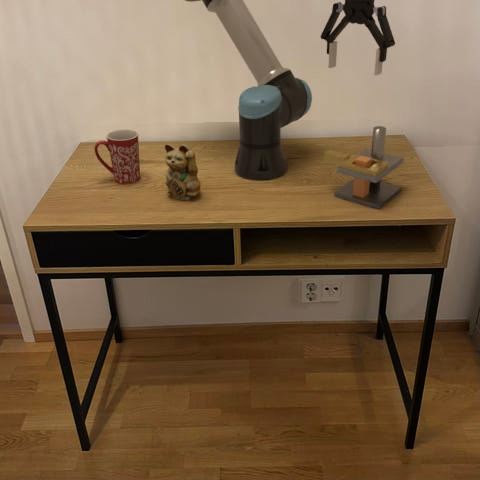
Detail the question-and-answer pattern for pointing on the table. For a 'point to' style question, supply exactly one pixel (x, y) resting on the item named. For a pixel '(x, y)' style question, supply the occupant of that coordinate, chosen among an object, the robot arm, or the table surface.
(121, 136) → the mug
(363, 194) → the wedge pin
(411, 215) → the table surface
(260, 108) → the robot arm
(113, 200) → the table surface
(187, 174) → the decorative figurine
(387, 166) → the grey and yellow stand
